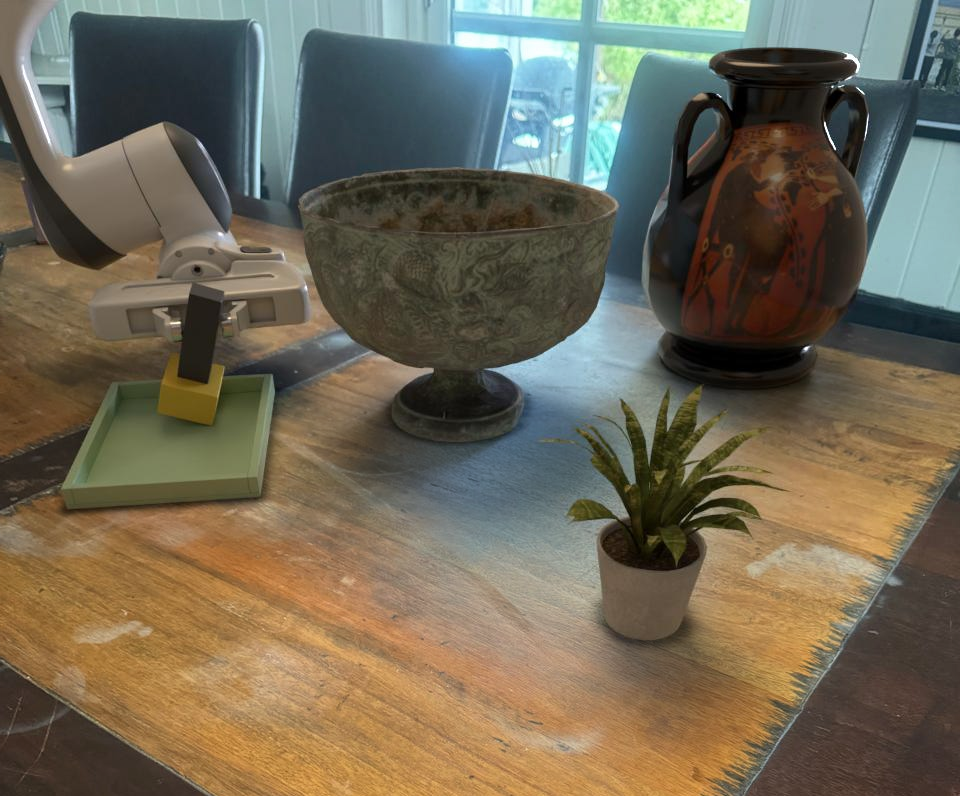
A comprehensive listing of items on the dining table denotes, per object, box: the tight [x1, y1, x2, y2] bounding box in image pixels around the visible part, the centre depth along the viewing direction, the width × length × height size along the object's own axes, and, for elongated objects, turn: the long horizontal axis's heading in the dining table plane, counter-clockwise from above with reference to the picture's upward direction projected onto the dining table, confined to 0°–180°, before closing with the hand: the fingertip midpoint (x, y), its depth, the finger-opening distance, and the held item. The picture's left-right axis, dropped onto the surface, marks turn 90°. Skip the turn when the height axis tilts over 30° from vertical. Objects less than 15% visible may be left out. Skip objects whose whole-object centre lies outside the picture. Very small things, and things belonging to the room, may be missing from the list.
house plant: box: [535, 383, 795, 641], centre depth 59 cm, size 14×14×16 cm
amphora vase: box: [641, 46, 870, 390], centre depth 91 cm, size 22×22×28 cm
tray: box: [60, 373, 276, 510], centre depth 85 cm, size 16×22×2 cm
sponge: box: [157, 283, 225, 426], centre depth 87 cm, size 5×7×11 cm
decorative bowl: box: [297, 166, 620, 443], centre depth 85 cm, size 26×26×20 cm
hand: (202, 331), depth 85 cm, fingers closed on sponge, 3 cm apart
